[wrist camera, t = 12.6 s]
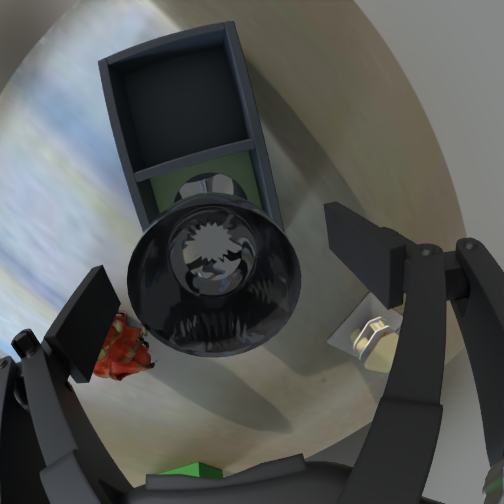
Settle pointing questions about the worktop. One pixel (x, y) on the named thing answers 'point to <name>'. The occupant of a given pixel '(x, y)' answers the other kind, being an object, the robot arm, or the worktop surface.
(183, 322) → the wine glass
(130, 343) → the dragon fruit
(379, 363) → the stacked layers on plate
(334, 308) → the worktop surface
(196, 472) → the hardback book
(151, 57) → the divided tray
